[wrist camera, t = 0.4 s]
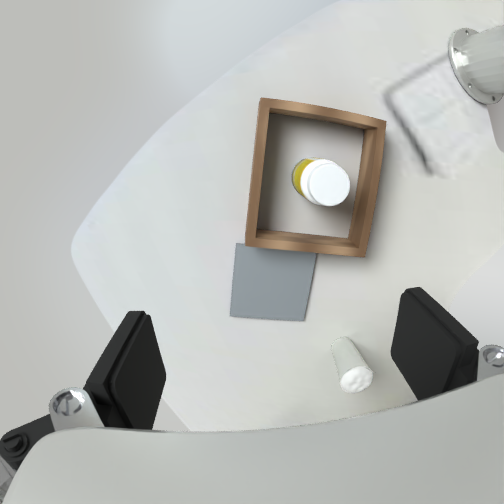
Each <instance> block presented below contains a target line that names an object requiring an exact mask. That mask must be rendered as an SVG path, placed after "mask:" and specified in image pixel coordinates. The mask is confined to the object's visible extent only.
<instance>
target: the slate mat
mask: <svg viewBox="0 0 504 504" xmlns="http://www.w3.org/2000/svg"><path fill="white" fill-rule="evenodd" d="M315 259H316V253H313V252H302V251H291V250H281V249H270V248H259V247H248V246H245V244H239V243H236V250H235V261H234V272H233V284H232V296H231V308H230V316H235V317H247V318H261V319H276V320H294V321H303V320H304V315H305V311H306V306H307V301H308V296H309V291H310V286H311V281H312V275H313V270H314V265H315Z"/></svg>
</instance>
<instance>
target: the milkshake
mask: <svg viewBox="0 0 504 504" xmlns="http://www.w3.org/2000/svg"><path fill="white" fill-rule="evenodd" d="M331 348H332V354H333V357H334V361H335V365H336V368H337V373H338V377H339V382H340V386H341V388H342V390H343V391H345V392H348V393H357V392H361V391H363V390H365V389H366V388H367V387H368V386H369V385H370V384H371V383H372V380H373V372H374V371H372V370H371V369H370V368H369V366H368V365H367V364H366V362H365V361H364V359H363V358H362V356H361V355H360V353H359V352H358V350H357V349H356V347H355V346H354V344H353V343H352V341H351V340H350V339H349V338H347V337H340V338H338V339H336V340H334V342H333V344H332V345H331ZM374 373H376V372H374Z"/></svg>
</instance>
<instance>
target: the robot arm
mask: <svg viewBox="0 0 504 504" xmlns="http://www.w3.org/2000/svg"><path fill="white" fill-rule="evenodd" d="M449 57H450V61H451V65H452V68H453V70H454V73H455V75H456V77H457V78H458V80H459V82H460V83H461V85H462V86H463V88H464V89H465V90H466V91H467V93H468V94H469V95H470V96H472V97H473V98H474V99H475V100H477V101H478V102H481V103H483V104H494V103H497V102H499V101H500V99H501V98H502V97H503V95H504V25H501V26H498V27H495V28H492V29H489V30H486V31H483V32H480V33H479V32H477V31H475V30H473V29H469V28H462V29H459V30H457V31H455V32H454V33H453V34H452V35H451V37H450V40H449ZM478 343H479V342H478V340H477V339H476V338H475V337H474V336H472V334H471V333H470V332H469V331H467V330H466V328H464V327H463V326H462V325H461V324H460V323H459V322H458V321H457V320H456V319H455V318H454V317H453V316H451V314H450V313H449V312H447V311H446V310H445V309H444V308H443V307H442V306H441V305H440V304H439V303H438V302H437V301H435V300H434V299H433V298H432V297H431V296H430V295H429V294H428V293H426V292H425V291H424V290H423V289H422V288H420V287H415V288H409V289H406V290H405V292H404V293H402V295H401V298H400V304H399V310H398V316H397V322H396V327H395V332H394V337H393V342H392V347H391V357H392V359H393V361H394V362H395V364H396V365H397V367H398V369H399V370H400V372H401V373H402V375H403V376H404V378H405V380H406V381H407V383H408V384H409V386H410V388H411V389H412V391H413V393H414V394H415V396H416V398H417V399H418V401H416V402H412V403H409V404H405V405H402V406H398V407H394V408H390V409H386V410H382V411H378V412H373V413H369V414H364V415H360V416H355V417H350V418H345V419H339V420H333V421H327V422H321V423H315V424H308V425H300V426H292V427H282V428H272V429H260V430H244V431H216V432H192V431H189V432H188V431H161V430H152V428H153V424H154V420H155V417H156V413H157V409H158V406H159V402H160V399H161V395H162V392H163V388H164V385H165V381H166V371H165V367H164V364H163V361H162V357H161V354H160V350H159V347H158V343H157V339H156V336H155V332H154V328H153V324H152V320H151V317H150V315H146V313H145V312H144V311H129V312H128V313H127V314H126V316H125V318H124V319H123V321H122V322H121V324H120V326H119V327H118V329H117V330H116V332H115V334H114V335H113V337H112V339H111V340H110V342H109V344H108V345H107V347H106V349H105V350H104V352H103V354H102V355H101V357H100V359H99V360H98V362H97V364H96V366H95V367H94V369H93V371H92V372H91V374H90V376H89V378H88V379H87V381H86V384H85V386H84V388H83V389H81V388H76V387H75V388H67V389H64V390H61V391H59V392H58V393H57V394H55V395H54V396H53V398H52V399H51V400H50V403H49V412H50V414H48V415H46V416H44V417H41V418H39V419H37V420H34V421H32V422H30V423H28V424H25V425H23V426H21V427H18V428H16V429H13V430H11V431H9V432H7V433H6V434H5V435H4V436H3V437H2V438H1V440H0V504H504V348H503V347H501V346H497V345H486V346H484V347H482V348H481V349H480V351H479V350H478V349H477V346H478Z"/></svg>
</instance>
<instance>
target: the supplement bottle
mask: <svg viewBox="0 0 504 504" xmlns="http://www.w3.org/2000/svg"><path fill="white" fill-rule="evenodd" d="M292 183H293V186H294V188H295V189H296V190H297V192H298V193H300V194H301V195H302V196H304V197H305V198H306V199H308V200H309V201H310V202H312V203H314V204H317V205H325V206H335V205H338V204H340V203H341V202H342V201H344V200H345V198H346V197H347V195H348V193H349V190H350V180H349V177H348V175H347V173H346V172H345V171H344V170H343V169H342V168H341V167H340V166H339V165H338V164H336V163H335V162H333V161H331V160H328V159H321V158H305V159H303V160H301V161H299V162H298V163H297V164H296V165H295V167H294V168H293V171H292Z"/></svg>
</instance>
